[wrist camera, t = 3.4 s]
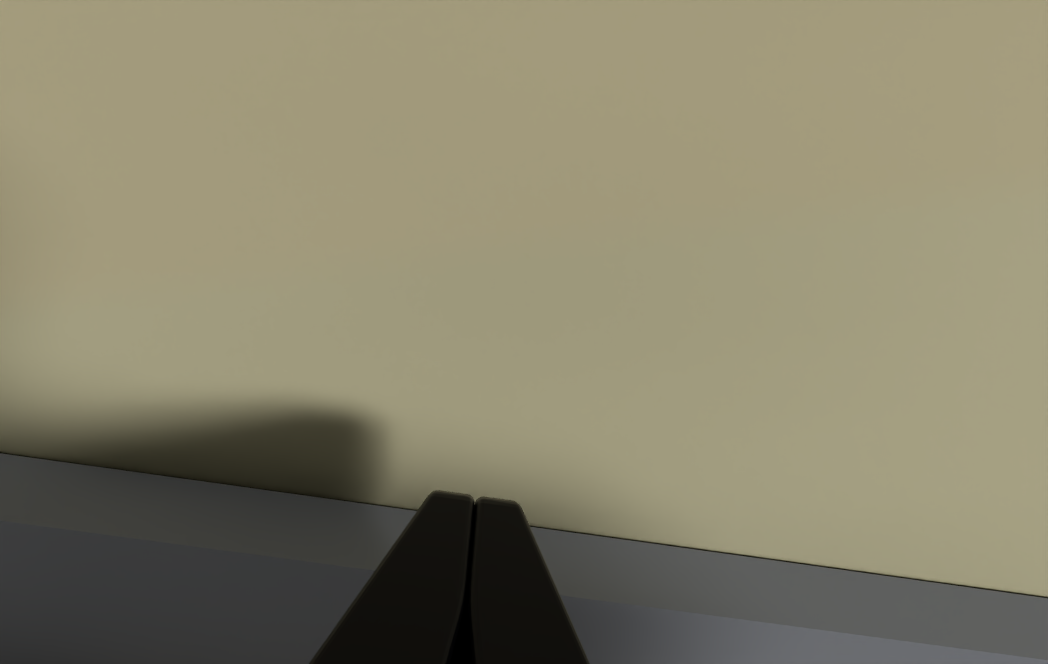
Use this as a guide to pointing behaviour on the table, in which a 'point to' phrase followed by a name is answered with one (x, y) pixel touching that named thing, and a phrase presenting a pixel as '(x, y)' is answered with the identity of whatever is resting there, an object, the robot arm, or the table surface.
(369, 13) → the table surface
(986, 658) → the pivot board
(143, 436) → the table surface
